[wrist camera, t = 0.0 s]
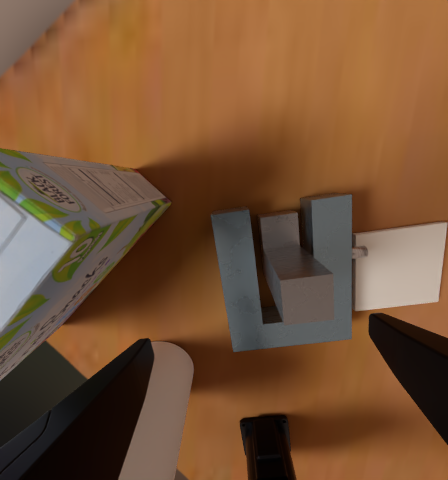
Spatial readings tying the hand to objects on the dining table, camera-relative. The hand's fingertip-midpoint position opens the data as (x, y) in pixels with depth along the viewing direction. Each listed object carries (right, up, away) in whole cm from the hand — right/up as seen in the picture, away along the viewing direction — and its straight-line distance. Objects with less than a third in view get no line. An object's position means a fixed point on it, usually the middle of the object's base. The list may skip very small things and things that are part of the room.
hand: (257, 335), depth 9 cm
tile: (+17, +1, +15) cm, 23 cm away
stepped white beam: (+4, +4, +14) cm, 15 cm away
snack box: (-16, +2, +15) cm, 22 cm away
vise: (+6, +1, +15) cm, 16 cm away
